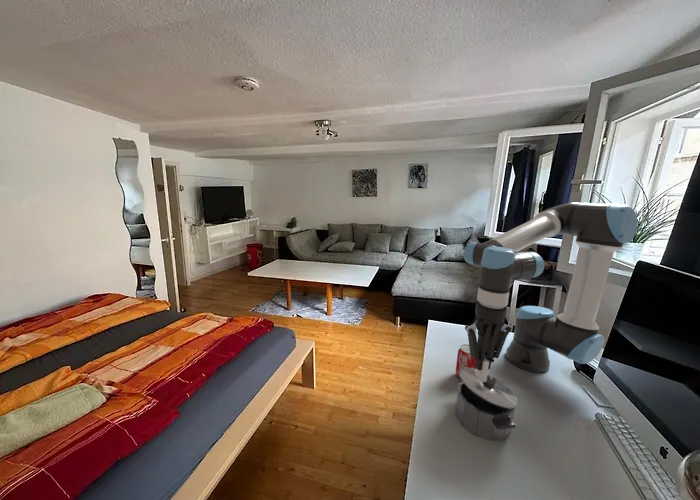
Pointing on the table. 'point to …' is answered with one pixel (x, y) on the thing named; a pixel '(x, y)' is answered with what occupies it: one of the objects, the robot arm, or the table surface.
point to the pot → (482, 415)
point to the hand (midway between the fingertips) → (481, 378)
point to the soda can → (464, 359)
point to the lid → (489, 389)
